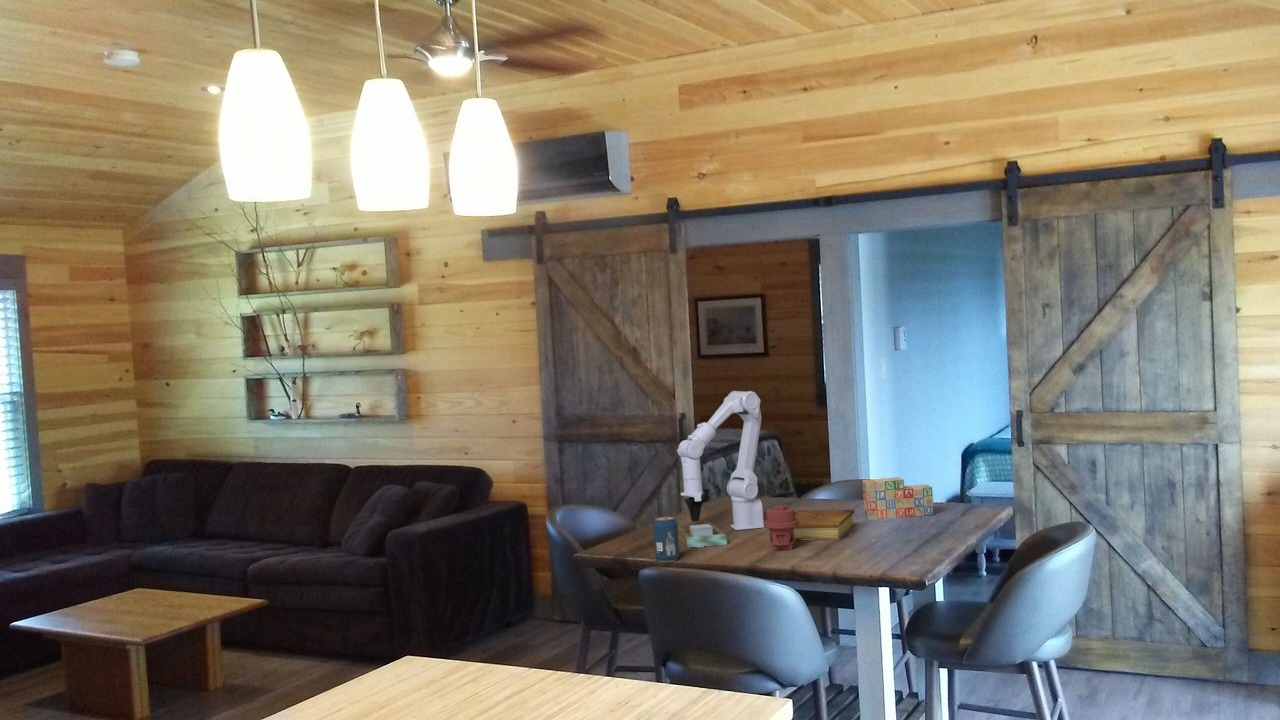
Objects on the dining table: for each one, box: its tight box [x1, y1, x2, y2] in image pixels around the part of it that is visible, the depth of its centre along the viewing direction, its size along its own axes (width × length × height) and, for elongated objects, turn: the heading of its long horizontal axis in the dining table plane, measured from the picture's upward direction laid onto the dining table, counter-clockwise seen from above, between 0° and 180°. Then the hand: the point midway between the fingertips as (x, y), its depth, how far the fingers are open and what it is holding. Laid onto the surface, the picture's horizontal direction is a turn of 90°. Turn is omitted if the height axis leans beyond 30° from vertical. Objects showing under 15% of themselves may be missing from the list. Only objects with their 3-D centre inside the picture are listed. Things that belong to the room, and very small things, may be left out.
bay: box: [677, 519, 728, 549], centre depth 352 cm, size 12×28×3 cm, turn 8°
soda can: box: [652, 515, 680, 563], centre depth 322 cm, size 7×7×12 cm
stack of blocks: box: [862, 477, 935, 520], centre depth 367 cm, size 21×6×12 cm, turn 89°
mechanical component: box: [763, 504, 799, 550], centre depth 327 cm, size 12×10×10 cm
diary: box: [794, 509, 856, 541], centre depth 348 cm, size 23×19×6 cm
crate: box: [688, 523, 713, 537], centre depth 346 cm, size 6×6×5 cm
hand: (695, 521), depth 355 cm, fingers closed
